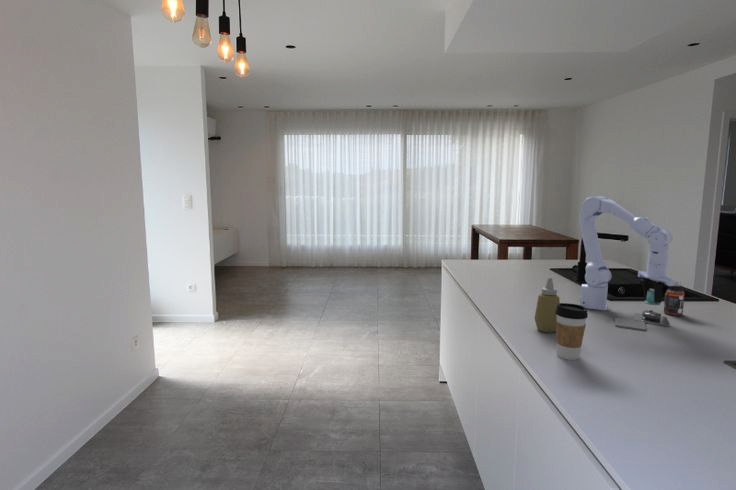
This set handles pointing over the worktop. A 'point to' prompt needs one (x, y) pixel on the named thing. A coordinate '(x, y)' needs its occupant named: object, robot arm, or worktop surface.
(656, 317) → the rotary selector switch
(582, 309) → the coffee cup
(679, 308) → the supplement bottle
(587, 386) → the worktop surface
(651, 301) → the cap
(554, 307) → the squeeze bottle
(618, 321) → the pad
